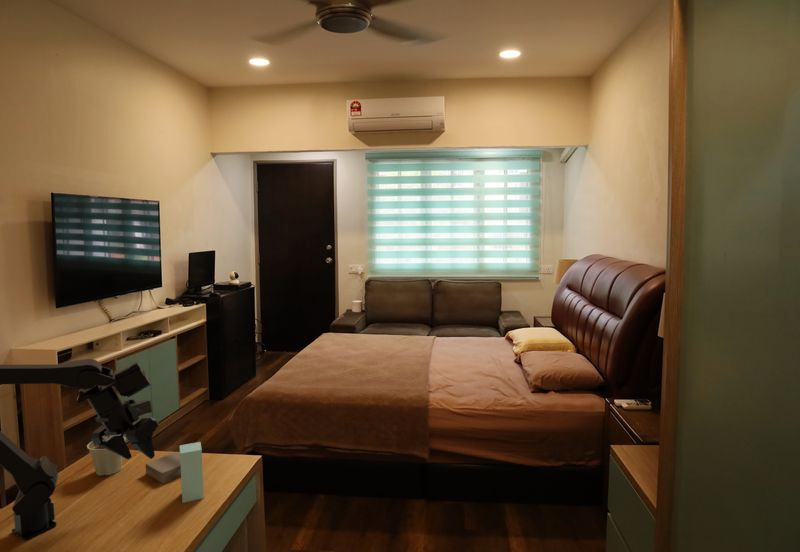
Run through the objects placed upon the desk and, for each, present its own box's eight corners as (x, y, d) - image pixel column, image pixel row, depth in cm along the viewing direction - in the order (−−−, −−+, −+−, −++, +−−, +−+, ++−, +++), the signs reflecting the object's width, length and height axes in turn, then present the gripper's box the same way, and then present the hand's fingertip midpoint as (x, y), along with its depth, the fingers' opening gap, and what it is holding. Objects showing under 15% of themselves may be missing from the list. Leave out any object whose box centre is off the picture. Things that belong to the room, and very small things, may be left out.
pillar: (182, 502, 123) (179, 453, 121) (181, 493, 127) (179, 445, 126) (203, 498, 125) (201, 449, 123) (202, 488, 129) (200, 441, 128)
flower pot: (109, 481, 133) (107, 451, 132) (80, 477, 135) (78, 447, 134) (135, 464, 142) (133, 436, 141) (107, 461, 144) (105, 433, 143)
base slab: (162, 483, 132) (162, 473, 131) (146, 473, 137) (145, 463, 137) (193, 470, 139) (193, 460, 139) (176, 461, 144) (176, 451, 144)
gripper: (159, 383, 120) (189, 434, 124) (113, 390, 128) (143, 437, 133) (121, 413, 110) (155, 466, 115) (75, 417, 119) (108, 467, 123)
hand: (141, 457), depth 122 cm, fingers open, 9 cm apart
